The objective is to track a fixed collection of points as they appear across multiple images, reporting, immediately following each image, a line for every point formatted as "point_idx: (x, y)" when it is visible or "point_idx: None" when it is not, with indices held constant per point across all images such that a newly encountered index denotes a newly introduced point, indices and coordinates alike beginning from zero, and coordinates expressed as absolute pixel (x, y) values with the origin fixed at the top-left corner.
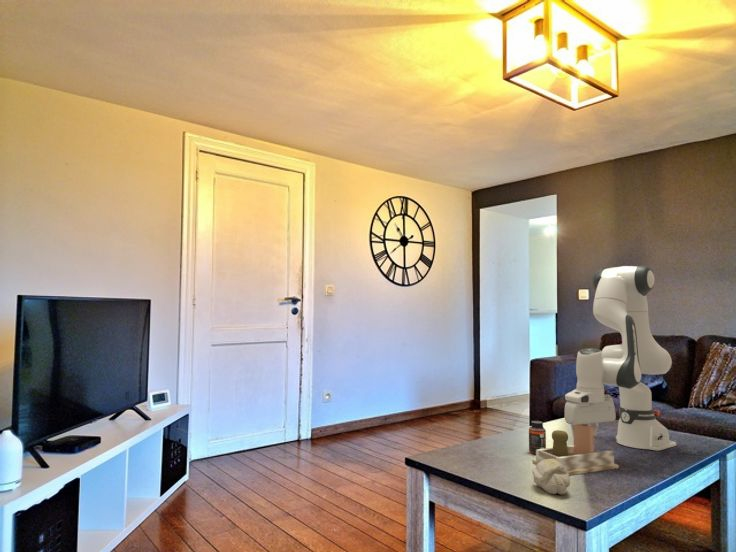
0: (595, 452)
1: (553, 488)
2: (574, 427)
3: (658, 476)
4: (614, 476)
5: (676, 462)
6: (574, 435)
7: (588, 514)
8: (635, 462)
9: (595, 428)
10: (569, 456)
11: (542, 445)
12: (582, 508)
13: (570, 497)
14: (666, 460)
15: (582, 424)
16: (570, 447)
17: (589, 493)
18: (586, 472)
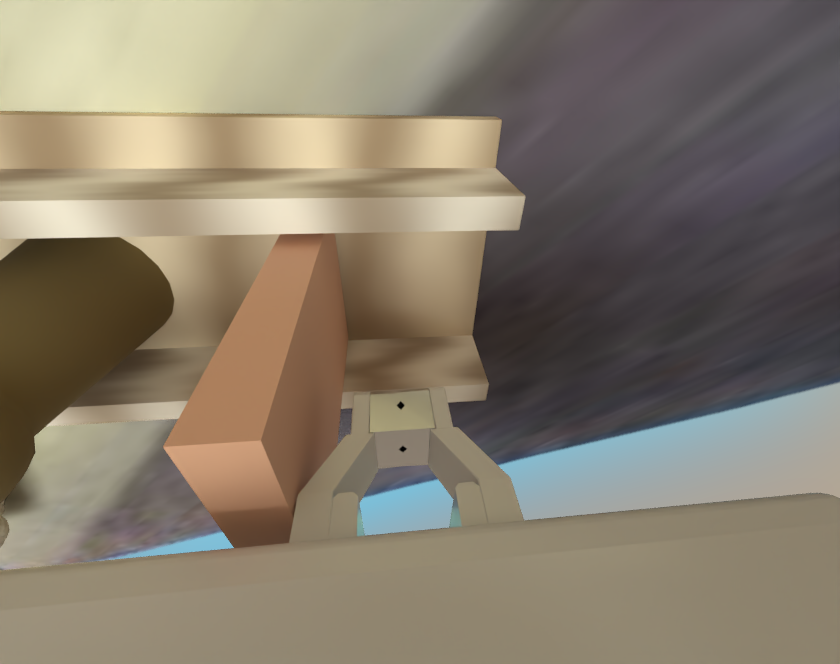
0: (345, 394)
1: None
2: (204, 397)
3: (512, 448)
4: (346, 422)
5: (780, 367)
6: (244, 316)
7: (50, 565)
8: (634, 323)
9: (447, 487)
10: (90, 417)
11: None
12: (45, 549)
13: (29, 510)
14: (790, 339)
15: (275, 519)
16: (237, 232)
17: (124, 500)
18: None
